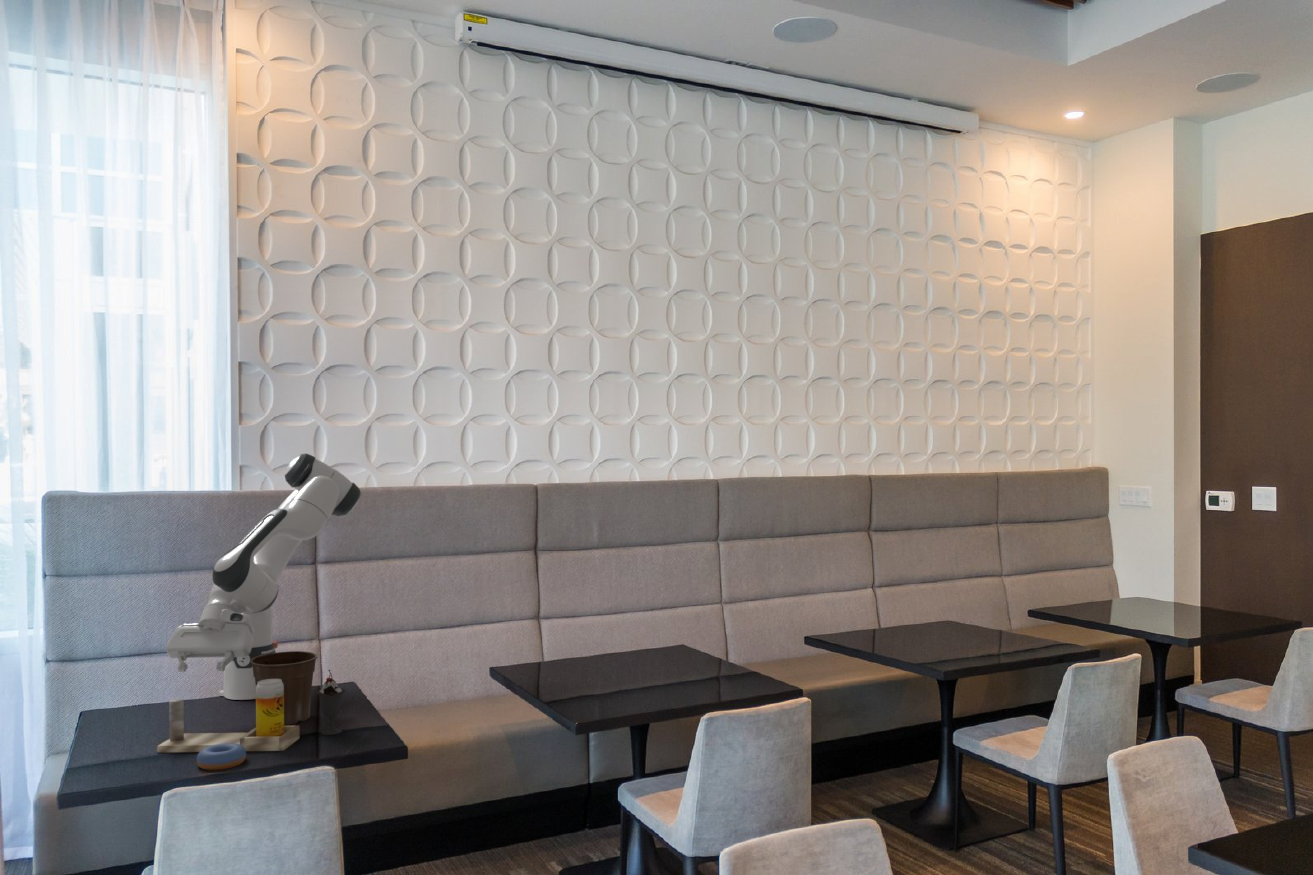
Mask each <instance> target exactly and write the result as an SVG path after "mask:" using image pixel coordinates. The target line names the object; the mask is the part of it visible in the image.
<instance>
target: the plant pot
mask: <svg viewBox="0 0 1313 875" xmlns="http://www.w3.org/2000/svg"><path fill="white" fill-rule="evenodd" d="M317 659H318V654H317V653H315V652H310V651H302V650H301V651H300V650H298V651H297V650H296V651H295V650H294V651H293V650H292V651H279V652H276V653H270V654H264V655H260V656H257V657H254V658H252V659H251V660H250V663H251V664H252V667H253V676H254V677H255V683H256V686H257V684H258V682H259V681H261V680H266V679H281V680H282V683H283V685H284V726H291V725H296V724H297V723H299V722H305V721H307V720H308V719H310V717H311V702H312V701H311V700H312V688H313V678H314V673H315V671H316V661H317ZM290 724H291V725H290Z"/></svg>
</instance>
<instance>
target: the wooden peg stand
mask: <svg viewBox="0 0 1313 875" xmlns="http://www.w3.org/2000/svg"><path fill="white" fill-rule="evenodd" d="M168 707H169V708H168V710H169V715H168V716H169V719H168V720H169V722H168V723H169V739H166V740H165V741H163V742H161V743H160V744H158V745H157V747H156V748H157V751H156V752H157V753H199V752H200V751H201V750H203V749H204V748H207V747H209V746H212V745H217V744H224V743H235V744H240V745H242V746H243V747H244V748H245V751H246V752H275V751H276V752H277V751H279V752H281V751H282V752H283V751H285V750H286V749H288V748H289V747H290V746H292V745H293V744H294V743H295V742H297V741H298V740H299V739H300V725H284V734H283V735H282V736H271V737H256V727H253V729H251V730H249V731H248V732H198V733H197V732H193V733H191V732H190V733H189V732H188V733H185V730H184V729H185V726H184V725H185V723H184V722H185V721H184V718H185V717H184V716H185V715H184V699H181V698H180V699H179V698H178V699H172V700H170V701H169V702H168Z"/></svg>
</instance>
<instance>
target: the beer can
mask: <svg viewBox="0 0 1313 875" xmlns="http://www.w3.org/2000/svg"><path fill="white" fill-rule="evenodd" d="M284 726H285V725H284V685H283V683H282V680H281V679H266V680H261V681H259V682H258V684H257V686H256V699H255V728H256V737H271V736H282V735H283V734H284Z"/></svg>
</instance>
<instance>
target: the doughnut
mask: <svg viewBox="0 0 1313 875" xmlns="http://www.w3.org/2000/svg"><path fill="white" fill-rule="evenodd" d="M246 758H247V751H245V748H244V747H243V746H242V745H240V744H235V743H224V744H217V745H212V746H209V747H207V748H204V749H203V750H201V751H200V752H198V754H197V755H196V762H197V766H198V767H199V768H200V769H202V770H206V771H216V770H217V771H220V770H225V769H227V770H228V769H231V768H234V767H238V766H240V765H241V764H243V763H244V761H245V760H246Z"/></svg>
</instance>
